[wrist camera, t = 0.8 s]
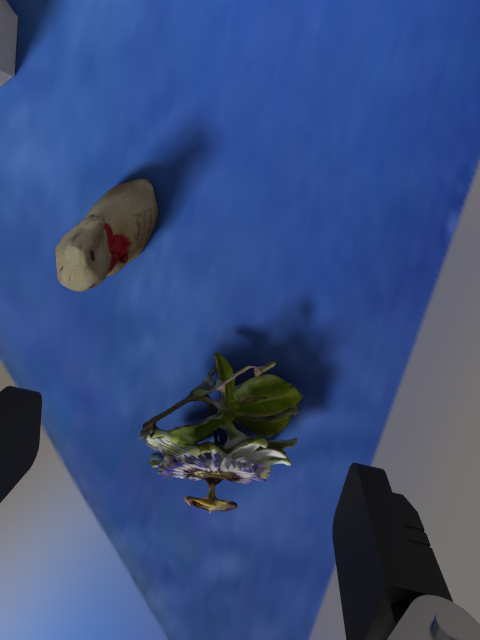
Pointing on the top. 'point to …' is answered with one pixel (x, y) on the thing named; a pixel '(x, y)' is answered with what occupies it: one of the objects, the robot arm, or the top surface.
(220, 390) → the passion flower
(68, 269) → the chocolate bunny
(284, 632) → the top surface
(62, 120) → the top surface
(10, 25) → the octagonal hollow cup
